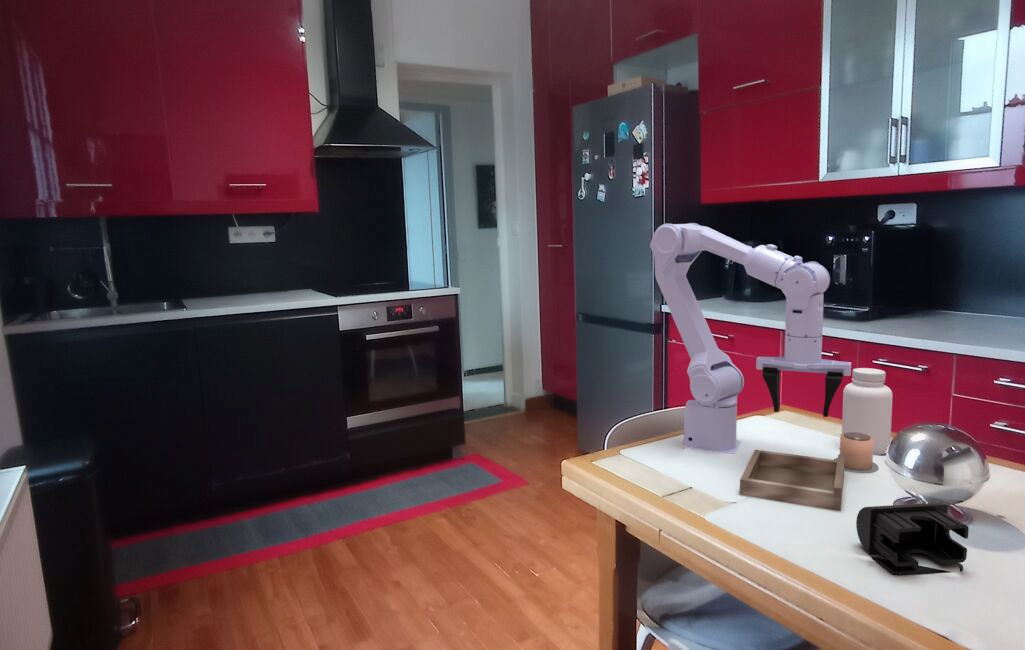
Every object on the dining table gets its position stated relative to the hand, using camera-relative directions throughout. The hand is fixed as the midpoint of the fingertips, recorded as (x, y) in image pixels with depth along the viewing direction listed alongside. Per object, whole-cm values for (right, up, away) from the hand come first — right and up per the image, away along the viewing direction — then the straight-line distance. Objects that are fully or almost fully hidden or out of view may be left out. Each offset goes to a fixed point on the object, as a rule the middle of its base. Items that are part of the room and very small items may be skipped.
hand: (800, 412), depth 108 cm
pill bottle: (+16, -8, +10) cm, 21 cm away
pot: (+9, -9, 0) cm, 13 cm away
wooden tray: (-4, -11, -7) cm, 14 cm away
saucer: (+9, -10, 0) cm, 14 cm away
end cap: (0, -15, -29) cm, 33 cm away
